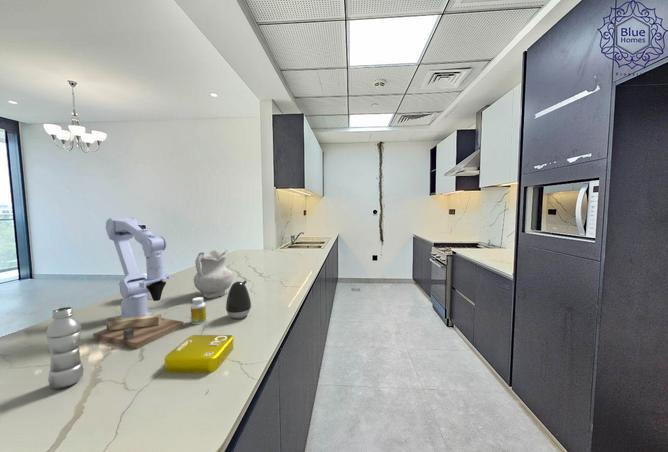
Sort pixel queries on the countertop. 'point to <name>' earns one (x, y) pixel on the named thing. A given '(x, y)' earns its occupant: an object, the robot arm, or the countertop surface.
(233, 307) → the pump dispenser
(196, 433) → the countertop surface
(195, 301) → the supplement bottle
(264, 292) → the countertop surface
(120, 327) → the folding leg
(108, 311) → the countertop surface
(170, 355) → the element tile
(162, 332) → the wooden board
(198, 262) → the ceramic pitcher
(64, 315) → the plastic bottle
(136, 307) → the robot arm
